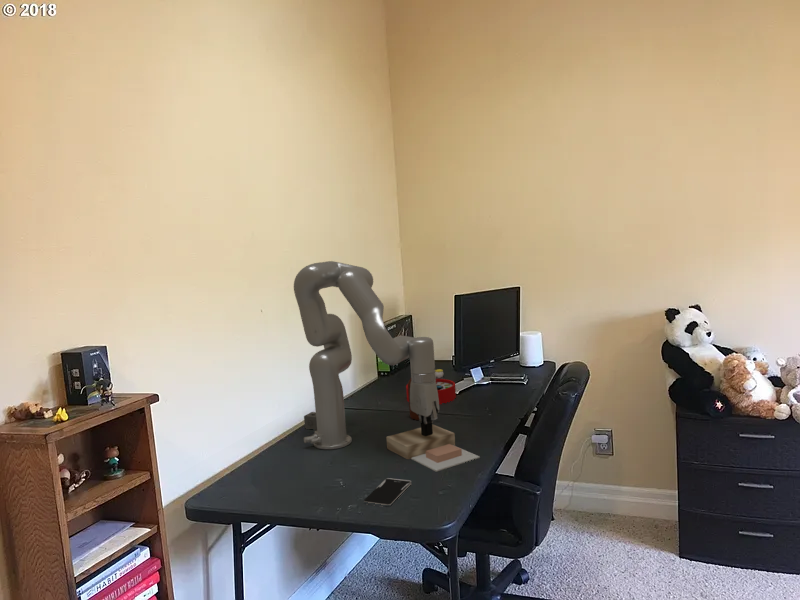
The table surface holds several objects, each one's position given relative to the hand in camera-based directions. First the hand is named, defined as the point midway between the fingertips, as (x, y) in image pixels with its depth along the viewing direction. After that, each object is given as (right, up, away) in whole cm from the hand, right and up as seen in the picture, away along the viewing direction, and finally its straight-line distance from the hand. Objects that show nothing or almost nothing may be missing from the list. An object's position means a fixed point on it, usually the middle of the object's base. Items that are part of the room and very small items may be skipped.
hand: (427, 434), depth 195 cm
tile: (+5, -3, -7) cm, 9 cm away
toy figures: (+6, +5, +85) cm, 85 cm away
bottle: (-1, -1, +35) cm, 35 cm away
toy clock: (+4, +2, +59) cm, 60 cm away
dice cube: (-39, -4, +31) cm, 50 cm away
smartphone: (-11, -10, -29) cm, 33 cm away
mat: (+5, -6, -7) cm, 11 cm away
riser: (-2, -5, +4) cm, 6 cm away
